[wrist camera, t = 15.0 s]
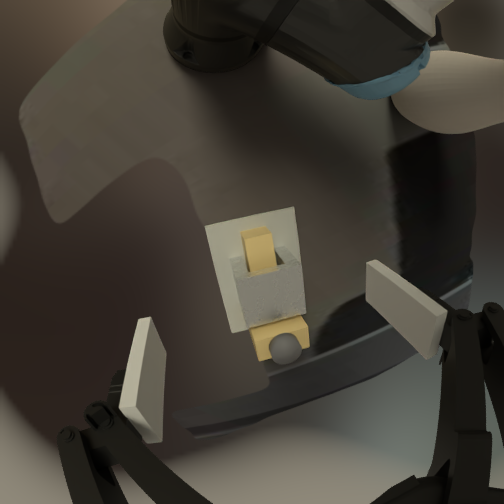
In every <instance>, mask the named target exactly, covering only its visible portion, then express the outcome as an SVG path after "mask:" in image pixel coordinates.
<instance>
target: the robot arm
mask: <svg viewBox="0 0 504 504" xmlns="http://www.w3.org/2000/svg"><path fill="white" fill-rule="evenodd" d="M453 1H454V0H171V3H172V7H171V9H170V10H169V12H168V13H167V15H166V18H165V21H164V26H163V34H164V39H165V43H166V46H167V48H168V50H169V52H170V53H171V55H172V56H173V57H174V58H175V59H176V60H177V61H178V62H180V63H181V64H183V65H185V66H186V67H189V68H191V69H194V70H197V71H202V72H210V73H216V72H225V71H230V70H233V69H236V68H238V67H241V66H242V65H244V64H246V63H247V62H249V61H250V60H251V59H253V58H254V57H255V55H256V54H257V53H258V52H259V50H260V49H261V48H262V46H263V44H265V45H267V46H269V47H271V48H273V49H275V50H277V51H279V52H280V53H282V54H284V55H286V56H288V57H290V58H292V59H293V60H295V61H297V62H299V63H301V64H302V65H304V66H306V67H307V68H309V69H311V70H312V71H314V72H316V73H317V74H319V75H321V76H322V77H324V79H325V80H326V81H327V82H329V83H330V84H332V85H334V86H337V87H340V88H341V89H343V90H345V91H346V92H348V93H349V94H351V95H353V96H355V97H357V98H362V99H367V100H375V99H381V98H385V97H388V96H391V95H393V94H395V93H397V92H399V91H401V90H402V89H404V88H406V87H407V86H408V85H410V84H411V83H412V82H413V81H414V80H416V79H417V77H418V76H419V75H420V72H419V71H420V70H421V69H424V68H426V66H427V64H428V62H429V59H430V48H429V45H428V42H427V41H428V40H429V39H431V38H432V37H433V36H434V35H435V34H436V33H435V16H436V14H437V13H438V12H439V11H440V10H442V9H443V8H444V7H446V6H447V5H448V4H450V3H451V2H453ZM366 301H367V302H368V303H369V304H370V305H371V306H373V307H374V308H375V309H376V310H377V311H378V312H379V313H380V314H381V315H382V316H383V317H384V318H385V319H386V320H387V321H388V322H389V323H390V324H391V325H392V326H393V327H394V328H395V329H396V330H397V331H398V332H399V333H400V334H401V335H402V336H403V337H404V338H405V339H406V340H407V341H408V342H409V343H410V344H411V345H412V346H413V347H414V348H415V349H416V350H417V351H418V352H419V353H420V354H421V355H422V356H423V357H424V358H425V359H426V360H427V359H429V358H431V357H433V356H434V355H436V354H437V351H438V348H439V345H440V346H441V347H442V348H443V353H442V356H441V359H440V362H439V365H440V364H441V362H442V381H441V382H442V383H441V399H440V411H439V420H438V429H437V437H436V443H435V449H434V455H433V460H432V464H431V467H430V469H429V472H428V474H427V476H426V477H421V478H417V479H416V477H415V476H414V475H413V476H411V477H409V478H407V479H406V480H404V481H402V482H400V483H398V484H396V485H394V486H393V487H391V488H390V489H388V490H387V491H386V492H385V493H383V494H382V495H381V496H380V497H378V498H377V499H376V500H375V501H373V502H372V503H370V504H504V489H500V488H493V487H489V479H490V468H491V455H492V434H491V432H487V431H486V405H485V404H486V403H485V385H484V380H485V383H486V386H487V389H488V392H489V395H490V398H491V401H492V404H493V408H494V411H495V414H496V418H497V422H498V425H499V429H500V433H501V437H502V442H503V446H504V310H503V308H502V307H501V306H500V305H499V304H497V303H494V302H488V303H486V304H484V306H483V310H482V312H479V313H475V314H473V313H472V312H471V311H469V310H466V309H458V310H455V309H454V308H452V307H451V306H449V305H448V304H447V303H445V302H444V301H443V300H441V299H440V298H439V297H437V296H435V295H434V294H433V293H432V292H430V291H429V290H426V289H423V288H419V289H418V288H416V287H415V286H413V285H412V284H411V283H409V282H408V281H406V280H405V279H404V278H402V277H401V276H399V275H398V274H397V273H395V272H394V271H392V270H391V269H389V268H388V267H386V266H385V265H384V264H382V263H381V262H379V261H378V260H372V261H369V262H366ZM493 341H494V342H493ZM165 365H166V351H165V349H164V347H163V344H162V342H161V340H160V337H159V335H158V333H157V330H156V328H155V326H154V324H153V321H152V318H151V317H147V318H142V319H139V320H138V324H137V327H136V331H135V335H134V339H133V343H132V348H131V352H130V356H129V360H128V365H127V369H125V370H118V371H117V372H116V373H115V375H114V376H113V378H112V381H111V387H110V389H109V393H108V398H107V402H105V401H101V400H100V401H95V402H93V403H91V404H90V405H89V406H87V408H86V409H85V411H84V418H85V421H86V422H87V423H88V424H89V425H90V426H91V428H88V429H85V430H82V431H79V429H78V428H76V427H75V426H66V427H64V428H63V429H61V430H60V432H59V433H58V435H57V444H58V449H59V454H60V458H61V462H62V467H63V471H64V475H65V478H66V482H67V486H68V489H69V492H70V496H71V499H72V502H73V504H128V502H127V500H126V498H125V496H124V494H123V492H122V490H121V487H120V485H119V483H118V481H117V479H116V476H115V474H114V472H113V470H112V467H111V466H112V465H116V464H120V465H121V466H122V467H123V468H124V470H125V471H126V472H127V473H128V474H129V475H130V477H131V478H132V479H133V480H134V481H135V482H136V483H137V484H138V485H139V486H140V487H141V489H143V491H144V492H145V493H146V494H147V495H148V496H149V497H150V498H151V499H152V500H153V501H154V502H155V503H156V504H213V503H211V502H210V501H208V500H207V499H206V498H205V497H203V496H202V495H200V494H199V493H198V492H197V491H195V490H194V489H193V488H192V487H190V486H189V485H188V484H187V483H185V482H184V481H183V480H182V479H181V478H180V477H178V476H177V475H176V474H175V473H174V472H173V471H172V470H170V469H169V468H168V467H167V466H166V465H165V464H163V462H162V461H161V460H159V459H158V458H157V457H156V456H155V455H154V454H153V453H152V452H151V451H150V450H149V449H148V448H147V447H146V446H145V445H144V444H143V443H142V442H141V441H142V438H143V439H144V440H145V441H146V443H156V442H162V428H163V399H164V381H165V380H164V379H165Z"/></svg>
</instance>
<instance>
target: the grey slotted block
mask: <svg viewBox="0 0 504 504" xmlns="http://www.w3.org/2000/svg"><path fill="white" fill-rule="evenodd" d="M274 251H275V257H276V263H277V266H273V267H269V268H265V269H261V270H257V271H253V272H248V270H247V267H246V265H245V263H244V261H243V258H242V256H238V257H233V258H229V259H230V263H231V268H232V272H233V277H234V281H235V286H236V290H237V295H238V299H239V303H240V306H241V310H242V313H243V316H244V319H245V322H246V326H247V328H251V327H255V326H259V325H263V324H267V323H271V322H275V321H278V320H282V319H286V318H289V317H293V316H296V315H300V314H303V313H306V304H305V293H304V283H303V273H302V264H301V263H300V262H299V261H298V260H297V259H296V258H295V257H294V256H293V254H292V253H291V252H290V251H289V250H288V249H287V248H286V247H285V246H281V247H276V248H274Z"/></svg>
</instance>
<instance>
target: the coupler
mask: <svg viewBox="0 0 504 504" xmlns="http://www.w3.org/2000/svg"><path fill="white" fill-rule="evenodd" d="M240 235H241V240H242V245H243V250H244V255H245V260H246V265H247V270H248V272H253V271H257V270H261V269H265V268H269V267H273V266H277V263H276V257H275V251H274V244H273V238H272V233H271V232H270V231H269V230H268V228H267V227H266V226H263V227H258V228H254V229H249V230H245V231H241V232H240ZM248 329H249V332H250V335H251V338H252V341H253V344H254V347H255V351H256V354H257V356H258V360H259V361H262V360H266V359H270V358H272V359H273V360H274V362H276V363H278V364H289V363H292V362H294V361H295V360H296V359H298V358H299V356H300V355H301V352H302V349H304V348H308V347H310V345H309V332H308V326H307V324H306V323H305V321H304V320H303V318H302V316H301V315H296V316H293V317H289V318H286V319H282V320H278V321H275V322H271V323H267V324H263V325H259V326H255V327H251V328H248Z"/></svg>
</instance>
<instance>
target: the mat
mask: <svg viewBox="0 0 504 504" xmlns="http://www.w3.org/2000/svg"><path fill="white" fill-rule="evenodd" d="M263 226H266V227H267V228H268V230H269V231H270V232H271V233H272V238H273V244H274V248H276V247H281V246H285V247H286V248H287V249H288V250H289V251H290V252H291V253H292V254H293V256H294V257H295V258H296V259H297V260H298V261H299V262H300V263H301V258H300V249H299V241H298V233H297V225H296V218H295V210H294V207H289V208H284V209H279V210H274V211H269V212H265V213H260V214H256V215H251V216H246V217H242V218H237V219H233V220H229V221H224V222H220V223H215V224H211V225H207V226H205V229H206V234H207V238H208V242H209V246H210V250H211V255H212V258H213V262H214V267H215V270H216V275H217V278H218V282H219V286H220V290H221V294H222V298H223V302H224V306H225V309H226V313H227V317H228V321H229V324H230V328H231V331H232V333H235V332H240V331H244V330H248V328H247V326H246V322H245V319H244V316H243V313H242V310H241V306H240V303H239V299H238V295H237V290H236V286H235V281H234V277H233V272H232V268H231V263H230V259H229V258H233V257H238V256H242V258H243V261H244V263H245V265H246V260H245V255H244V250H243V245H242V240H241V235H240V232H241V231H245V230H249V229H254V228H258V227H263ZM246 267H247V265H246ZM303 314H306V313H303ZM303 314H300V315H303Z"/></svg>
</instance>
